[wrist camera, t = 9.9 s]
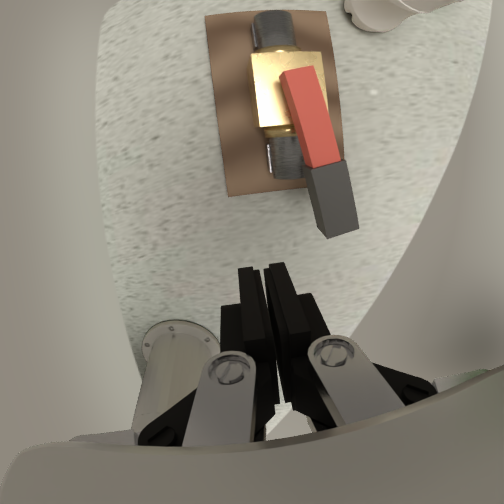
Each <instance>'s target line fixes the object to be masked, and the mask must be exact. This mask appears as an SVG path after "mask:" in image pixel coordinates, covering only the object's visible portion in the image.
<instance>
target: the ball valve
mask: <svg viewBox="0 0 504 504" xmlns="http://www.w3.org/2000/svg"><path fill="white" fill-rule="evenodd" d="M253 20H254V23H252V24H251V28H250V31H251V38H252V45H253V51H255V52H254V53H253V54H251V55H250V58H249V61H248V65H247V68H246V69H247V76H248V84H249V92H250V100H251V108H252V116H253V124H254V127H264V133H265V138H269V143H270V144H265V148H266V157H267V166H268V171H269V172H270V173H272V172H273V178H275V179H283V180H288V179H300V178H305V176H304V172H303V169H302V165H304V164H305V161H304V157H303V153H302V150H301V146H300V143H299V140H298V136H297V133H296V129H295V126H294V123H293V120H292V116H291V113H290V110H289V107H288V104H287V100H286V97H285V94H284V91H283V88H282V85H281V82H280V79H279V75H280V74H281V73H282V72H283V71H287V70H291V69H296V68H301V67H306V66H312V65H313V66H314V69H315V71H316V74H317V77H318V81H319V84H320V87H321V90H322V93H323V96H324V100H325V103H326V106H327V110H328V102H327V93H326V85H325V77H324V70H323V63H322V56H321V52H309V51H301V48H300V47H298V46H297V44H296V37H295V31H294V25H293V20H292V14H291V13H289V12H287V11H283V10H270V11H264V12H261V13H258V14H256V15H255V16H254V17H253ZM328 113H329V112H328Z"/></svg>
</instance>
